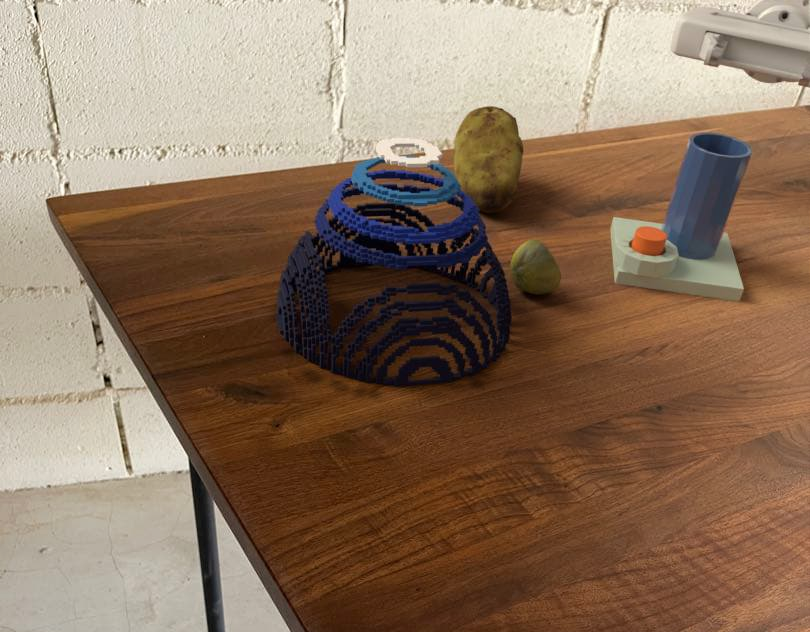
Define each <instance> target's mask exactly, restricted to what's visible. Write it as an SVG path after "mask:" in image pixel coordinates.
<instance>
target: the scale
mask: <svg viewBox="0 0 810 632" xmlns="http://www.w3.org/2000/svg"><path fill="white" fill-rule="evenodd" d="M662 225H663V223H659V222H653V221H646V220H639V219H631V218H625V217H617V216H613V217H612V221H611V225H610V229H609V230H610V243H611V255H612V267H613V277H614V284H616V285H622V286H630V287H638V288H644V289H651V290H658V291H664V292H671V293H679V294H684V295H685V294H686V295H693V296H699V297H705V298H706V297H707V298H714V299H719V300H720V299H721V300H725V301H733V302H741V298H742V295H743V293H744V290H745V288H744V287H745V286H744V284H743V280H742V277H741V274H740V271H739V267H738V264H737V260H736V257H735V255H734V250H733V247H732V244H731V240H730V237H729V233H727V232H724V233H723V236H722V239H721V241H720V244H719V247H718V248H717V251H716V254H715V255H714V256H713V257H711V258H708V259H688V258H683V257H680V256H679V255H678V250H677V247H676V246H675V245H673V244H672V243H671V242H670V241H668V240H666V243H665V246H664V249H663V252H662V254H661V255H659V256H648V255H643V254H640V253H638V252H635V251H634V250H633V249H632V248H631V245H632V242H633V238H634V235H635V231H636V229H637V228H639V227H643V226H649V227H655V228H658V229H660V230H661V229H662Z"/></svg>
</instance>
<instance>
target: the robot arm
mask: <svg viewBox="0 0 810 632" xmlns="http://www.w3.org/2000/svg"><path fill="white" fill-rule="evenodd" d="M670 41H671V42H670V45H669V49H670V52H671V53H672V54H674V55H675V56H677V57H683V58H688V59H690V60H691V59H692V60H696V61H701V62H703V65H704V66H708V67H712V68H719V66H723V67H729V68H733V69H737V70H743V72H745V74H746V75H747V76H748V77H750V78H752V79H753V80H755V81H758V82H761V83H764V84H778V83H783V82H785V83H797V86H800V87H804V88H809V89H810V0H756V1H754V3H753V4H752V6H751V7H750V8H749V9H748V11H746V13H745V14H744V13H739V12H734V11H728V10H724V9H719V8H713V7H705V6H699V7H695V8H691V9H689V10H686V11H685V12H683V13H682V14H680V15H679V16H678V17H677V20H676V23H675V26H674V30H673V33H672V37H671V40H670Z"/></svg>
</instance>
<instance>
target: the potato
mask: <svg viewBox="0 0 810 632" xmlns="http://www.w3.org/2000/svg"><path fill="white" fill-rule="evenodd" d="M523 155H524V144H523V140H522V138H521V137H520V132H519V125H518V122H517V118H516V117H514V115H512V114H511V113H510V112H508V111H507V110H505V109H503V108H501V107H498V106H494V105H489V106H488V105H487V106H482V107H478V108H475V109H472V110H471V111H470V112H469V113H468V114H467V115H466V116H465V117H464V118H463V120H462V121H461V123H460V125H459V126H458V129H457V131H456V134H455V137H454V145H453V169H454V172H453V174H454V176H455V177H456V179H457V180H458V182H459V183H460V185H461V187H460V189H461V190H462V191H463V192H464V193H465V195H468V196H470V198H471V199H472V201H473V202H474V204H475V205H476V207H477V208H478V209H479V212H481V213H485V214H487V215H490V214H494V213H499V212H501V211H504V210H505V209H506V208H507V207H508V206H509V205H510V204H511V203H512V201H514V198H515V196H516V193H517V192H516V191H517V188H518V186H519V182H520V180H519V179H520V175H521V170H522V165H523Z"/></svg>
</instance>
